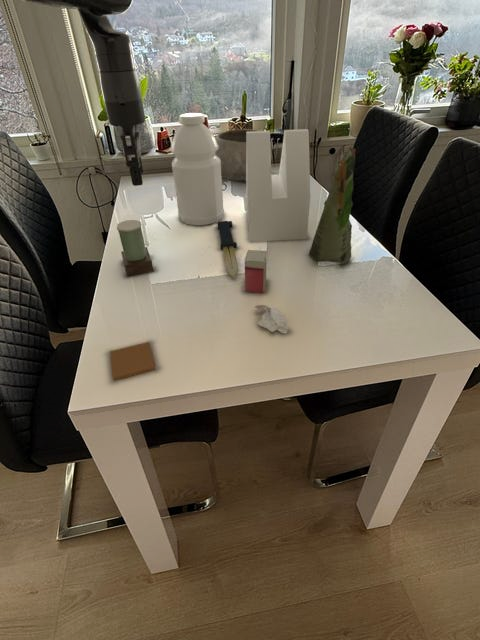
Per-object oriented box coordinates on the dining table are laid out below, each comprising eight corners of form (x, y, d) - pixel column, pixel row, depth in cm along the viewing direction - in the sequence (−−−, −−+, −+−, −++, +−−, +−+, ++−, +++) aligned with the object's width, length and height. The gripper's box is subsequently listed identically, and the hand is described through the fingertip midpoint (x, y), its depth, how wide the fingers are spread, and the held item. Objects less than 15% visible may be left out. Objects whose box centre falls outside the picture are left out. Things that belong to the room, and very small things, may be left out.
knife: (231, 220, 109) (243, 273, 85) (232, 225, 110) (243, 279, 86) (217, 221, 108) (225, 274, 85) (217, 226, 109) (225, 280, 86)
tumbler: (125, 263, 88) (117, 231, 83) (123, 253, 92) (115, 222, 87) (149, 258, 89) (142, 227, 84) (145, 248, 93) (139, 218, 88)
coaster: (113, 380, 62) (113, 378, 62) (110, 353, 68) (109, 351, 67) (155, 369, 64) (154, 366, 64) (149, 344, 69) (148, 341, 69)
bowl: (219, 189, 135) (216, 144, 125) (207, 171, 152) (204, 130, 143) (280, 181, 139) (281, 137, 130) (261, 164, 156) (261, 125, 147)
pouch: (338, 243, 98) (352, 141, 83) (364, 264, 90) (385, 154, 74) (299, 251, 96) (307, 147, 80) (322, 273, 87) (336, 161, 71)
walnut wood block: (127, 276, 89) (124, 265, 87) (123, 262, 94) (121, 251, 92) (153, 271, 90) (151, 260, 88) (149, 257, 96) (146, 246, 94)
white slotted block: (246, 213, 116) (244, 124, 101) (296, 211, 116) (301, 122, 101) (250, 241, 101) (248, 141, 86) (306, 239, 101) (315, 138, 86)
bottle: (233, 215, 115) (228, 113, 98) (200, 230, 108) (189, 122, 90) (202, 204, 123) (193, 108, 106) (169, 218, 115) (153, 116, 98)
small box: (248, 280, 86) (247, 249, 81) (266, 281, 85) (267, 250, 80) (244, 292, 82) (243, 260, 77) (264, 293, 81) (264, 261, 76)
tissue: (280, 308, 77) (280, 293, 74) (289, 333, 70) (290, 317, 68) (253, 311, 76) (253, 296, 74) (260, 337, 70) (260, 321, 68)
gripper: (106, 94, 81) (123, 171, 91) (100, 103, 69) (119, 190, 79) (142, 92, 82) (154, 169, 92) (141, 101, 70) (155, 187, 80)
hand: (138, 179), depth 85 cm, fingers open, 8 cm apart
